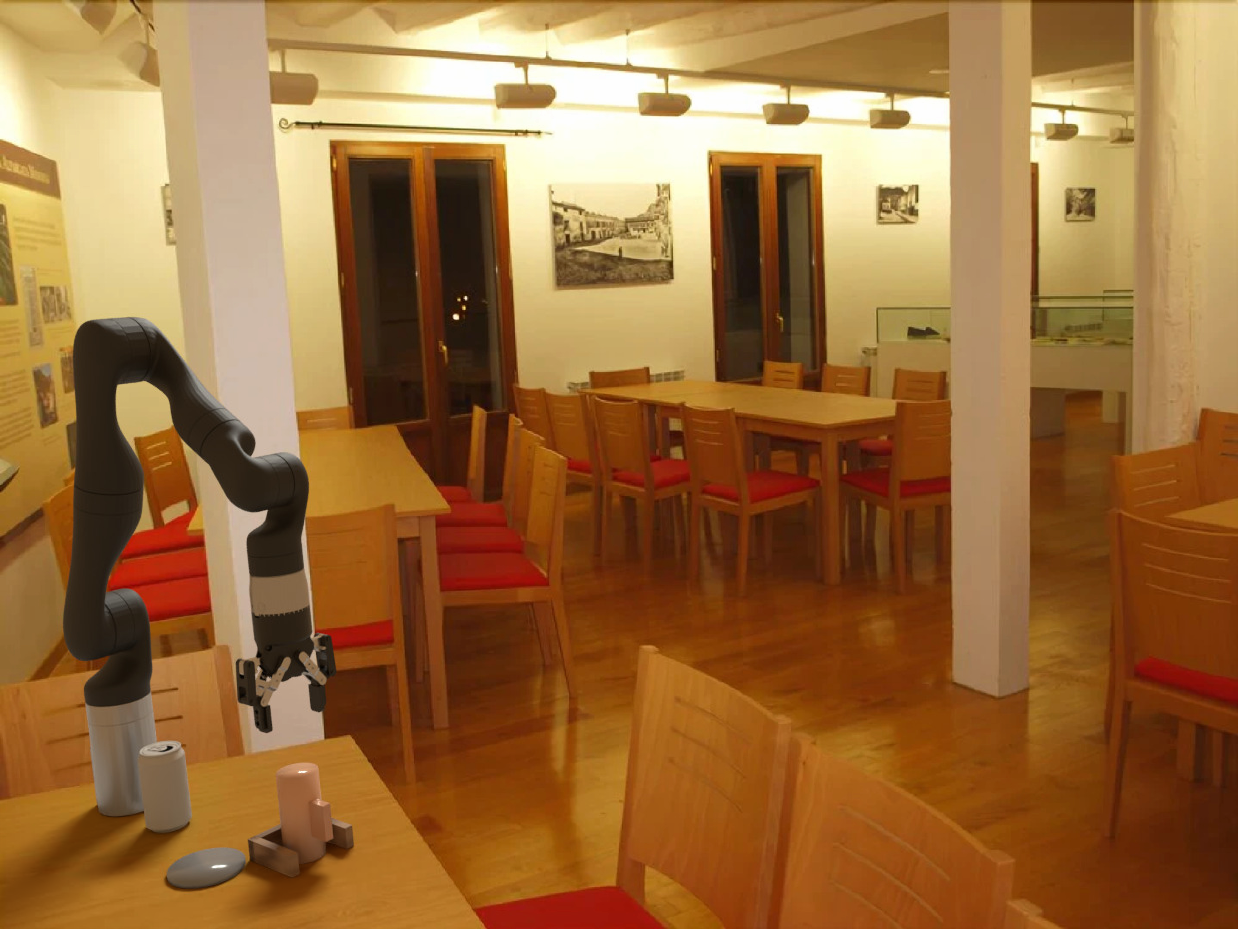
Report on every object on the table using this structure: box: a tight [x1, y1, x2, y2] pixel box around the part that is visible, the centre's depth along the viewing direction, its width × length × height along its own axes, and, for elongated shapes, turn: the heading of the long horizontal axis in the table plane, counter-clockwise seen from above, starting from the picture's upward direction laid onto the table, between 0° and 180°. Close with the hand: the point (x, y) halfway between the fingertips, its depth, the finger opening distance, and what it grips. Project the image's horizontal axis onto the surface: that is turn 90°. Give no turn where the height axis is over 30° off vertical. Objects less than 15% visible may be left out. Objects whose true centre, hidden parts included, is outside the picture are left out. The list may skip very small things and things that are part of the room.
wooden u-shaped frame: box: [247, 817, 355, 879], centre depth 159 cm, size 9×10×3 cm
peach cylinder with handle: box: [275, 762, 333, 865], centre depth 157 cm, size 8×6×12 cm, turn 53°
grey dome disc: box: [166, 847, 247, 890], centre depth 156 cm, size 10×10×1 cm
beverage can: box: [138, 740, 193, 834], centre depth 169 cm, size 6×6×12 cm
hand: (292, 721), depth 156 cm, fingers open, 8 cm apart
